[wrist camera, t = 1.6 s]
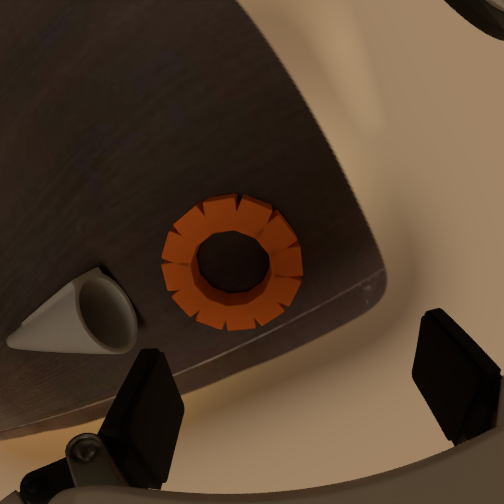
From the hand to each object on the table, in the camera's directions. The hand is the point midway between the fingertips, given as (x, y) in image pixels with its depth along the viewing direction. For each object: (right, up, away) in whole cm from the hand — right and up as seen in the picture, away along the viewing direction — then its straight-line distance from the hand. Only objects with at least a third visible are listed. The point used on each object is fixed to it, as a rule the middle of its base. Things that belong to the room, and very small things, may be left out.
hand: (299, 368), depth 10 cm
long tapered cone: (-20, -4, +14) cm, 25 cm away
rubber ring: (-3, +3, +11) cm, 12 cm away
